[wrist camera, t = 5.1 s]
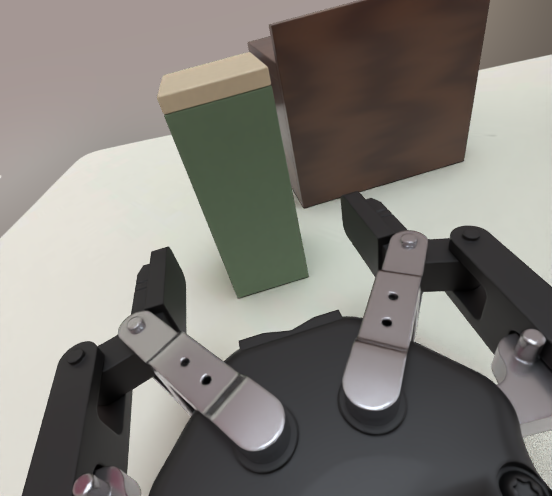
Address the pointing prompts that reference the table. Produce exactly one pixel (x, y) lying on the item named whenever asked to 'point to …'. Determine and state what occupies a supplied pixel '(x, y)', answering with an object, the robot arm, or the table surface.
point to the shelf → (373, 91)
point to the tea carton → (237, 168)
